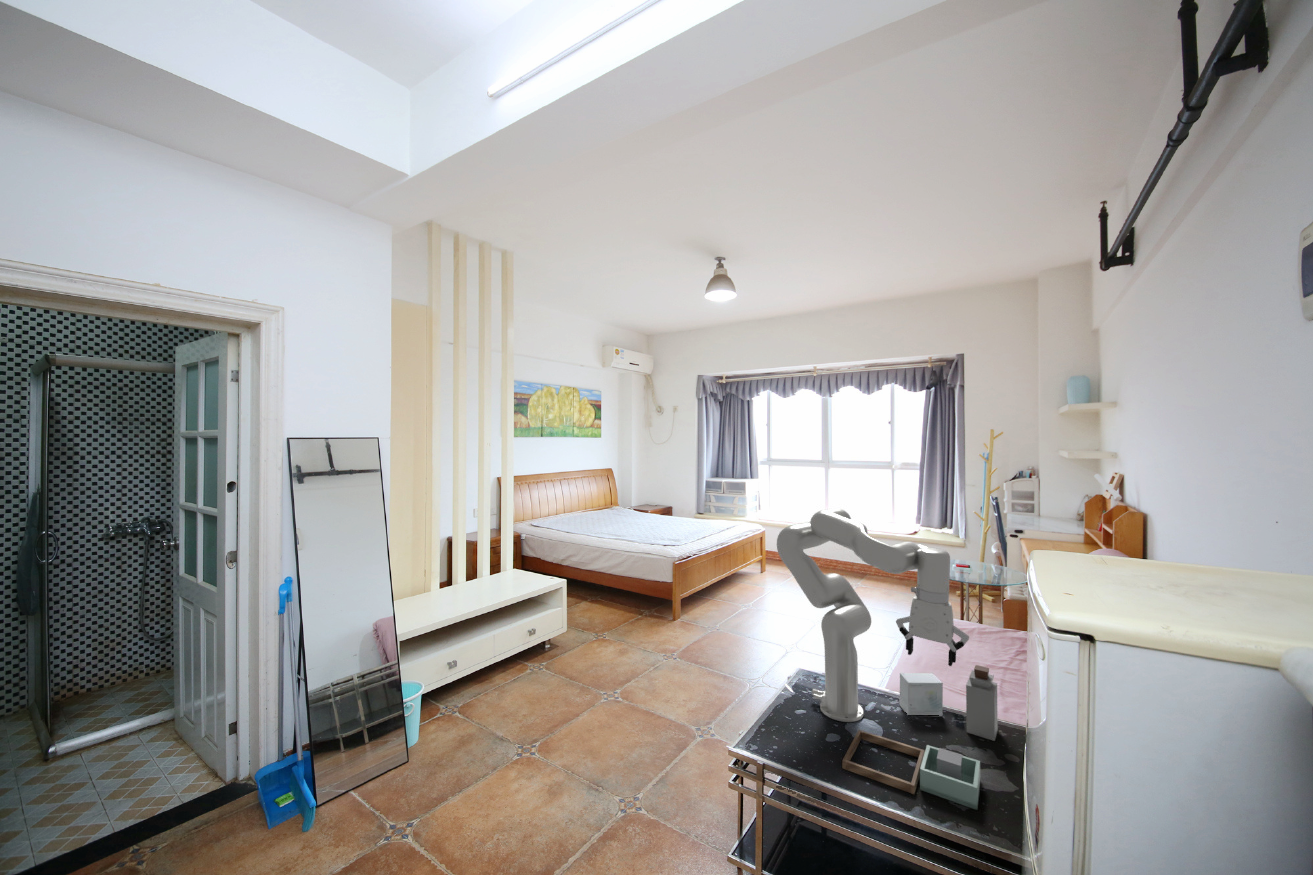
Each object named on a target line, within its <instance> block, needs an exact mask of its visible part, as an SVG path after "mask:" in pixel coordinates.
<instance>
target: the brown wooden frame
mask: <svg viewBox="0 0 1313 875" xmlns="http://www.w3.org/2000/svg"><path fill="white" fill-rule="evenodd" d="M861 740H862V741H866V742H869V743H872V744H876V745H879V746H881V747H885V748H888V749H890V750H893V751H897V752H900V753H904V754H907V755H910V756H912V757H915V758H918V759H917V762H916V765H915V769H914V771H913V776H912V779H911V781H907V780H904V779H902V778H899V777H895V776H893V775H890V774H887V773H885V772H881V771H879V770H875V769H873V768H870V767H867V766H865V765H861V764H859V763H856V762H854V761H851V760H852V757H853V756H854V754H855V752H856V750H857V748H858V746H859V744H860V742H861ZM925 750H926V749H921V748H919V747H916V746H912V745H909V744H906V743H902V742H899V741H897V740H894V739H891V738H887V737H884V736H881V735H878V734H874V733H871V732H868V731H865V730H861V729H858V730H857V732H856V734H855V736H854V738H853V740H852V741H851V743H850V745H849V747H848V749H847V751H846V753H845V755H844V757H843V759H842V762H841V763H842V764H841V765H842V766H841V767H842V769H844V770H846V771H849V772H852V773H854V774H858V775H860V776H862V777H866V778H868V779H871V780H873V781H876V782H879V783H882V784H884V785H888V786H891V787H893V788H896V789H898V790H901V791H904V792H907V793H910V794H912V795H915V793H916V789H917V786H918V782H919V781H920V767H921V764H922V760H923V757H924V753H925Z"/></svg>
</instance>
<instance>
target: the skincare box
mask: <svg viewBox="0 0 1313 875" xmlns="http://www.w3.org/2000/svg"><path fill="white" fill-rule="evenodd" d="M943 685H944V683H943V681H942V680H940V679H939V677H937V676H936V675H935V674H934V673H932V672H929V673H927V672H925V673H924V672H918V673H917V672H899V707H901V709H902V711H904V713H905V712H906V713H907V714H906V713H905V714H906V715H907V716H908V715H939V716H938V717H943V707H944V706H943V705H944V704H943V697H944V695H943V692H944V686H943Z"/></svg>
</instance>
